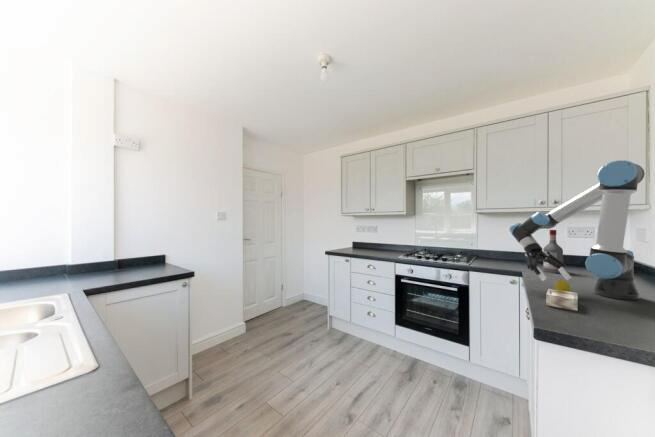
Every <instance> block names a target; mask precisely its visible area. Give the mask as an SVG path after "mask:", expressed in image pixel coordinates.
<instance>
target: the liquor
mask: <svg viewBox="0 0 655 437" xmlns="http://www.w3.org/2000/svg"><path fill="white" fill-rule="evenodd" d="M542 251H543V252H544V253H547V252H550V253H551V254H552V255H553V256H554V257H556V258H557V259H558V260H560V261H561V262H563V263H564V250H563V248H562V247H561V246H560V245H559V244H558V243H557V230H556V229H549V242H548V244H546V245H545V246H544V247H543V248H542ZM546 259H547V258H546ZM542 262H543V263H542V264H543V265H542V266H543V268H542V269H543V271H544V272H545V271H546V272H545V273H550V272H551V273H552V274H561V273H560V272H559V271H558V268H556V267H554V266H553V265H551V264H549V263H547V262H544V261H542ZM551 273H550V274H551Z"/></svg>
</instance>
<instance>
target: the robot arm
mask: <svg viewBox="0 0 655 437" xmlns="http://www.w3.org/2000/svg"><path fill="white" fill-rule="evenodd" d="M645 173H646V172H645V170H644V168H643V167H641V165H639V164H637V163H634V162H632V161H629V160H622V159H621V160H620V159H618V160H613V161H609V162H607V163H605V164H604V165H602V166H601V167H599V170H598V172H597V180H598V183H597V184H595V185H593V186H592V187H590V188H587V190H585V191H582V192H580V193H579V194H578V195H576V196H575V197H573V198H570V200H568V201H566V202H564V203H562V204H561V205H559V206H557V207H556V208H554V209H552V210H551V211H549V212H547V213H544V212H542V211H537V212H536V213H534V214H532V215H531V216H530V217H529V218H528V219H526V220H525V221H524V222H522V223H521V222H517V223H513V224H512V225H511V226H510V227H509V232H510V233H511V235H512V237H514V239H515V240H516V242H517V243H518V244H519V245H520V247H521V248H522V249H523V250H524V252H525V253H524V257H525V262H526V268H527V269H528V270H530V271H532V272H534V273H535V274H536V275H537V276H538V278H539V279H540V280H541V281H542V282H545V281H546V280H547V279H548V278H547V276H546V275H545V273H544V272H543V271H542V270H541V268H540V267H538V262H543V261H544V262H547V263H549V264H551V265H553V266H554V267H556V268H558V271H559V272H560V273H559V274H560V275H561V276H562V277H563V278H564V280H566V281H569V280H570V279H572V278H573V277H572V276H571V275H570V274H569V272H568V271H567V270H566V268H565V267H566V266H567V265H566V263H564V261H563V262H561V261H560V260H558V259H557V258H556V257H554V256H553V255H552V254H551V253H550V252H547V253H544V252H543V247H542V246H541V245H540V244H539V243H538V241H537V240H536V239H535V238H534V237H533V234H534V233H536V232H538V231H539V230H542V229H543V230H544V229H545V230H546V229H547V230H551V229H552V228H555V227H556V226H557V225H558V224H559V223H562V222H563V221H565V220H567V219H568V218H570V217H572V216H574V215H576V214H578V213H580V212H581V211H584V210H586V209H587V208H589V207H592V206H594V205H595V204H597V203H598V202H600V201H601V205H600V213H599V219H598V226H597V234H596V239H595V244H594V245H591V246H590V250H589V256H587V258H586V260H585V268H586V270H587V271H588V272H589V273H590V274H591V275H593V276H595V277H597V280H596V282H595V284H594V287H593V293H594V294H595V295H598V296H602V297H606V298H612V299H618V300H626V301H637V300H640V293H639V291H638V289H637V287H636V286H637V285H636V284H635V281H634V274H635V271H634V269H635V268H634V266H635V261H634V259H635V256H634V252H633V251H632V250H630V249H625V248H624V243H625V242H624V241H625V236H626V230H627V223H628V216H629V208H630V203H631V202H630V201H631V196H632V195H633V194H634V193H637V190H638V184H640V183H641V182H642V181H643V180H644V178H645V175H646V174H645ZM546 258H547V259H546Z"/></svg>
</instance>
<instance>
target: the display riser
mask: <svg viewBox="0 0 655 437" xmlns="http://www.w3.org/2000/svg"><path fill="white" fill-rule="evenodd" d="M578 297H579V296H578V293H577V292H571V291H569V292H566V291H559V290H555V289H552V288H548V289H547V291H546V294H545V305H546V306H548V307H549V306H550V307H554V308H559V309H560V308H561V309H565V310H571V311H575V312H576V311H577V312H578V305H579V304H578V303H579V302H578Z"/></svg>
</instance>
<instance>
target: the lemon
mask: <svg viewBox="0 0 655 437" xmlns="http://www.w3.org/2000/svg"><path fill="white" fill-rule="evenodd" d="M554 290H559V291H566V292H571V291H570V290H571V288H570V284H569V283H568V282H567V280H566V281H565V279H559V280H556V282H555V283H554Z"/></svg>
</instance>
